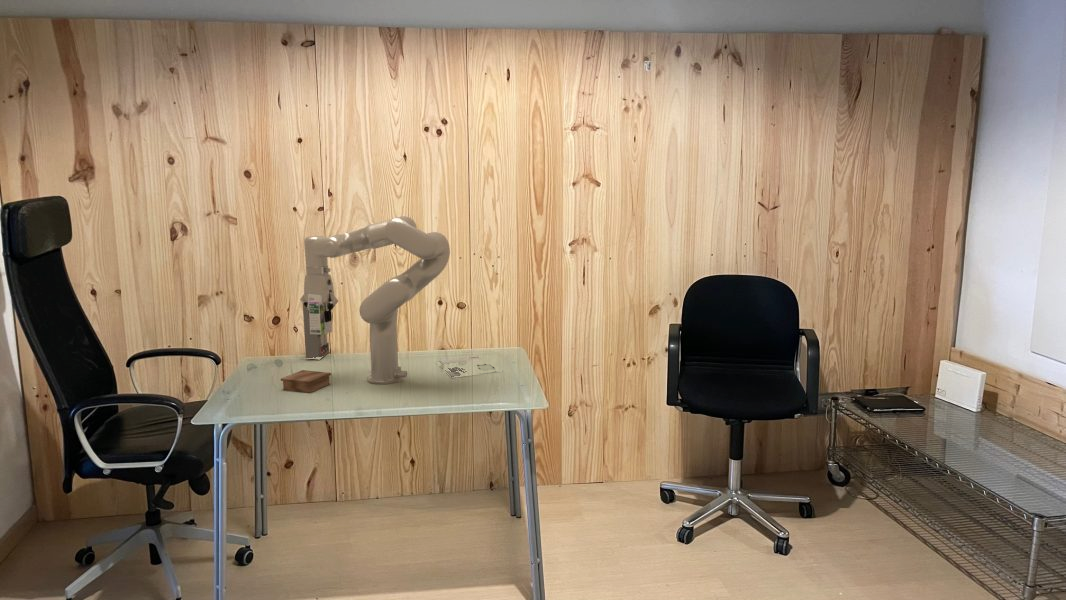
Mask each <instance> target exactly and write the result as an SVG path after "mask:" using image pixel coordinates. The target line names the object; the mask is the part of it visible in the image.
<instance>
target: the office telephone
mask: <svg viewBox="0 0 1066 600" xmlns="http://www.w3.org/2000/svg"><path fill="white" fill-rule="evenodd" d="M473 359H481V358H480V357H479V356H472V357H464V358H456V359H455V358H454V359H446V360H439V361H438V362H440V363H441V364H442V365H444V364H450V363H456V362H463V361H467V360H473ZM448 369H449V370H450V371H451V372H450V371H446V370H445V371H446V372H447V373H448V374H449V375H450V376H451V377H454V376H460V375H461V374H460V373H459V372H456V371H458V370H459V371H461V372H463V373H465V372H467V371H465V372H464V371H462V370H465V369H463V368H461V369H462V370H461V369H460V368H458V367H454V368H452V369H451V368H448ZM457 369H458V370H457ZM447 373H446V374H447ZM448 374H447V375H448ZM449 375H448V376H449Z"/></svg>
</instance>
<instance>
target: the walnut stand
mask: <svg viewBox="0 0 1066 600" xmlns="http://www.w3.org/2000/svg"><path fill="white" fill-rule="evenodd" d="M330 376H332V373H331V372H325V371H315V370H308V369H307V370H304V369H302V370H300V371H299V370H298V371H297V372H295V373H292V374H289V375H286V376H283V377H282V378H280V381H281V382H282V386H283V387H282V388H283V391H292V392H300V393H301V392H302V393H313V392H314V391H317V390H319V389H320V390H321V388H324V387H326V386H330V383H331V381H330Z"/></svg>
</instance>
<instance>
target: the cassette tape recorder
mask: <svg viewBox="0 0 1066 600" xmlns="http://www.w3.org/2000/svg"><path fill="white" fill-rule="evenodd" d="M302 313H303V314H302V316H303V330H304V331H303V332H304V348H305V349H304V350H305V352H304V353H305V358H313V357H314V358H316V357H322V356H324V357H325V356H326V355H328V353H330V343H329V342H328V336H327V335H328V333H327V334H324V335H319V334H310V321H309V312H308V310H307V308H306V306H305V305H304V303H302ZM305 358H304V359H305Z"/></svg>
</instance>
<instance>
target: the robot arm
mask: <svg viewBox="0 0 1066 600" xmlns="http://www.w3.org/2000/svg"><path fill="white" fill-rule="evenodd" d="M417 227H418V226H417V223H416V222H415V220H414V219H413V218H411V217H409V216H406V215H402V216H397V217H393V218H391V219H387V220H383V221H379V222H375V223H371V224H368V225H366V226H365V227H363V228H360V229H357V230H356V229H355V230H353V231H349V232H345V233H341V234H336V235H335V234H334V235H331V236H326V237H325V236H323V235H311V236H310V235H309V236H306V237H305V238H304V243H303V244H304V257H305V258H304V259H305V260H304V261H305V272H306V274H305V275H304V281H303V282H304V284H303V295H302V296H301V297H300V298H299V300H300V302H301V303H302V304H303V303H304V305H305V306H306V308H307V310H308V312H309V305H308V294H311V295H322V301H323V303H324V308H325V310H326V311H324V318H325V322H329V321H331V322H332V319H333V317H332V310H333V309H334V307H335V306H336V305H337V304H338V303H339V300H338V299H337V297H336V296H335V289H334V282H333V279H332V276H331V274H329V273H330V272H331V268H329V263H328V258H334V259H335V258H339V257H342V256H347V255H350V254H354V253H357V252H361V251H366V250H369V249H371V250H375V249H380V248H384V247H387V246H390V245H391V246H392V245H396V246H397V247H399V248H401V249H403V250H404V251H407V252H409V253H410V254H411V255H413V256H415V257H417V258H418V260H417V261H416V262H415V263H413V264H412V265H411V266H410V267H409V268H408V269H406V270H404V272H402V273H400V274H399V275H397V276H394V277H391V278H390V279H388V280H387V281H385V282H383V284H381V285H380V286H379V287H378V288H376V289H375V290H374V291H373V292H371V293H370V294H369V295H368V296H367V297H365V298H364V299H363V300H362V301H361V303H360V305H359V315H360V318H361V319H362V320H363V321H364V323H367V324H369V346H370V347H369V352H370V370H371V371H370V372H371V374H370V375H368V376H367V377H366V379H367V380H366V381H367V382H368V383H371V384H375V385H388V384H394V383H395V384H396V383H398V382H401V381H402V380H403V379H405V378H407V377H408V371H407V370H402V367H401V366H399V355H398V354H399V353H398V351H399V350H398V349H399V348H398V314H399V313H398V312H399V308H400V307H402V306H403V305H404V304H406V303H407V302H410V301H411V300H413V298H415V296H417V294H419V293H420V292H421V291H422V290H423V289H425V288H426V287H427V286H428V285H429V284H430V283H432V282H433V280H434V281H435V279H436V278H437V277H438V276H440V274H441V273H442V272H443V271H444V269H445V268H446V266H447V265H448V262H449V259H450V255H451V251H450V250H451V249H450V243H449V241H448V238H447V237H446V236H445V235H444V234H443V233H441V232H437V231H431V232H427V233H426V232H424V231H422V230H420V229H419V228H417ZM309 321H310V320H309Z"/></svg>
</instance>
